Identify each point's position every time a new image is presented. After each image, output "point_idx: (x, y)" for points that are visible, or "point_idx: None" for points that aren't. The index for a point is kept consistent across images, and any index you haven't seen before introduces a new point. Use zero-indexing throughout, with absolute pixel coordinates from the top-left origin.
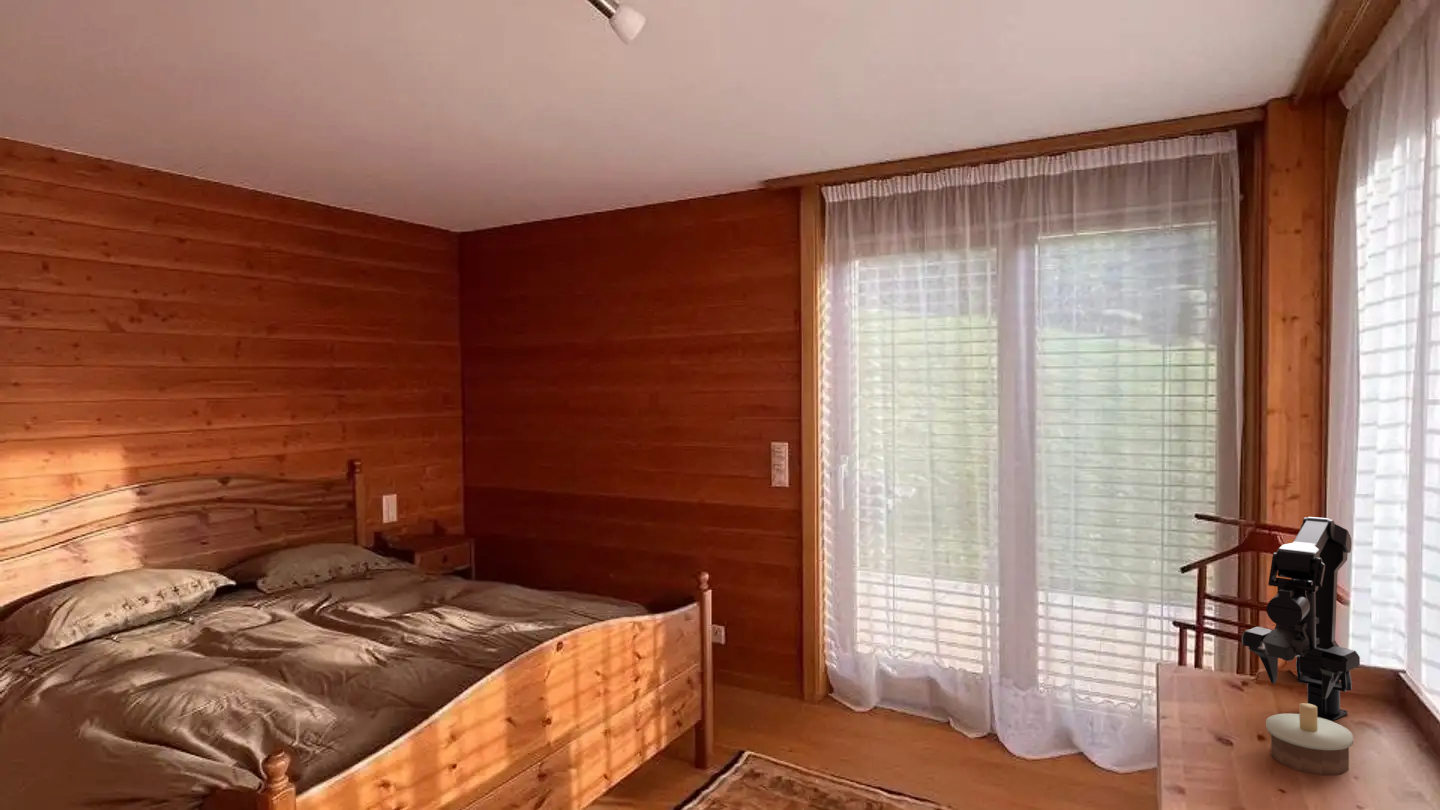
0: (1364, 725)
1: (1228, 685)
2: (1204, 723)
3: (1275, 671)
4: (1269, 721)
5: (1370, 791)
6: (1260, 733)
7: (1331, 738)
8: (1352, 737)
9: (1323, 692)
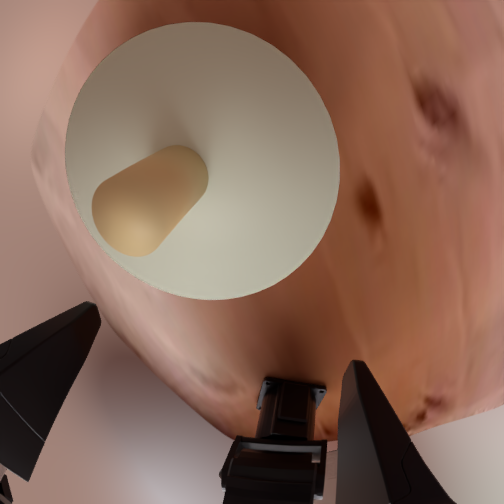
0: (221, 382)
1: (445, 400)
2: (499, 201)
3: (346, 435)
4: (320, 132)
5: (71, 94)
6: (375, 232)
7: (97, 149)
8: (77, 209)
9: (67, 319)
